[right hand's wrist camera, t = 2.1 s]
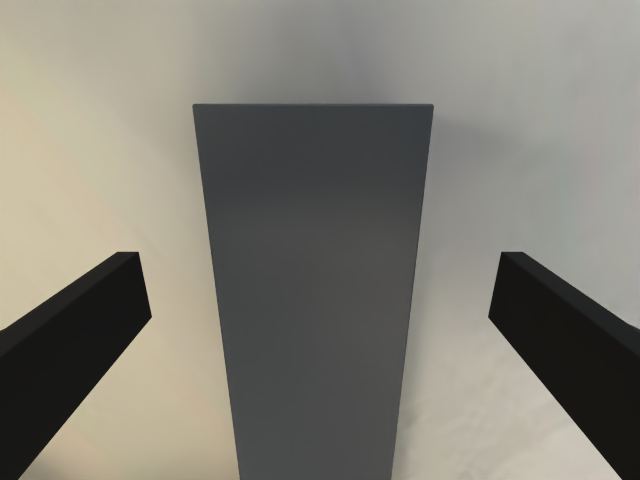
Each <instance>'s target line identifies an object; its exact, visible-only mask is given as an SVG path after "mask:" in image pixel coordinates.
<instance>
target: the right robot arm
mask: <svg viewBox="0 0 640 480" xmlns="http://www.w3.org/2000/svg"><path fill="white" fill-rule="evenodd" d="M151 318H152V315H151V310H150V305H149V301H148V296H147V291H146V286H145V281H144V276H143V271H142V266H141V262H140V257H139V252H116V253H115V254H113V255H112V256H111V257H109V258H108V259H106V260H105V261H103V262H102V263H100V264H99V265H97V266H96V267H94V268H93V269H92V270H90V271H89V272H87V273H86V274H84V275H83V276H81V277H80V278H78V279H77V280H75V281H74V282H73V283H71V284H70V285H68V286H67V287H65V288H64V289H62V290H61V291H59V292H58V293H57V294H55V295H54V296H52V297H51V298H49V299H48V300H46V301H45V302H43V303H42V304H40V305H39V306H38V307H36V308H35V309H33V310H32V311H30V312H29V313H27V314H26V315H24V316H23V317H21V318H20V319H19V320H17V321H16V322H14V323H13V324H11V325H10V326H8V327H7V328H5V329H3V330H1V331H0V480H18V479H19V478H20V477H21V475H22V474H23V473H24V472H25V470H26V469H27V468H28V467H29V466H30V464H31V463H32V462H33V461H34V460H35V458H36V457H37V456H38V455H39V453H40V452H41V451H42V450H43V449H44V447H45V446H46V445H47V444H48V443H49V441H50V440H51V439H52V438H53V436H54V435H55V434H56V433H57V432H58V430H59V429H60V428H61V427H62V426H63V424H64V423H65V422H66V421H67V419H68V418H69V417H70V416H71V415H72V413H73V412H74V411H75V410H76V409H77V407H78V406H79V405H80V404H81V402H82V401H83V400H84V399H85V398H86V396H87V395H88V394H89V393H90V392H91V390H92V389H93V388H94V387H95V385H96V384H97V383H98V382H99V381H100V379H101V378H102V377H103V376H104V375H105V373H106V372H107V371H108V370H109V369H110V367H111V366H112V365H113V364H114V362H115V361H116V360H117V359H118V358H119V356H120V355H121V354H122V353H123V352H124V350H125V349H126V348H127V347H128V345H129V344H130V343H131V342H132V341H133V339H134V338H135V337H136V336H137V335H138V333H139V332H140V331H141V330H142V328H143V327H144V326H145V325H146V324H147V322H148V321H149V320H150V319H151ZM488 318H489V319H490V320H491V321H492V322H493V324H494V325H495V326H496V327H497V328H498V330H499V331H500V332H501V333H502V335H503V336H504V337H505V338H506V339H507V341H508V342H509V343H510V344H511V345H512V347H513V348H514V349H515V350H516V352H517V353H518V354H519V355H520V356H521V358H522V359H523V360H524V361H525V362H526V364H527V365H528V366H529V367H530V369H531V370H532V371H533V372H534V373H535V375H536V376H537V377H538V378H539V379H540V381H541V382H542V383H543V384H544V385H545V387H546V388H547V389H548V390H549V392H550V393H551V394H552V395H553V396H554V398H555V399H556V400H557V401H558V402H559V404H560V405H561V406H562V407H563V409H564V410H565V411H566V412H567V413H568V415H569V416H570V417H571V418H572V419H573V421H574V422H575V423H576V424H577V426H578V427H579V428H580V429H581V430H582V432H583V433H584V434H585V435H586V436H587V438H588V439H589V440H590V441H591V443H592V444H593V445H594V446H595V447H596V449H597V450H598V451H599V452H600V453H601V455H602V456H603V457H604V458H605V460H606V461H607V462H608V463H609V464H610V466H611V467H612V468H613V469H614V470H615V472H616V473H617V474H618V475H619V477H620V478H621V479H622V480H640V329H638V328H636V327H634V326H632V325H629V324H627V323H626V322H624V321H623V320H621V319H620V318H619V317H617V316H616V315H614V314H613V313H611V312H610V311H608V310H607V309H605V308H604V307H602V306H601V305H600V304H598V303H597V302H595V301H594V300H592V299H591V298H589V297H588V296H586V295H585V294H583V293H582V292H581V291H579V290H578V289H576V288H575V287H573V286H572V285H570V284H569V283H567V282H566V281H565V280H563V279H562V278H560V277H559V276H557V275H556V274H554V273H553V272H551V271H550V270H548V269H547V268H546V267H544V266H543V265H541V264H540V263H538V262H537V261H535V260H534V259H532V258H531V257H529V256H528V255H527V254H525V253H524V252H501V257H500V262H499V266H498V271H497V276H496V281H495V286H494V291H493V296H492V301H491V305H490V310H489V315H488Z"/></svg>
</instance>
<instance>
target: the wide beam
mask: <svg viewBox="0 0 640 480" xmlns="http://www.w3.org/2000/svg"><path fill="white" fill-rule="evenodd" d="M433 109H434V106H433V104H193V114H194V122H195V130H196V138H197V146H198V154H199V161H200V169H201V177H202V185H203V193H204V201H205V208H206V216H207V224H208V232H209V240H210V247H211V255H212V263H213V271H214V279H215V287H216V294H217V302H218V310H219V318H220V326H221V334H222V341H223V349H224V357H225V365H226V373H227V381H228V388H229V396H230V404H231V412H232V420H233V427H234V435H235V443H236V451H237V459H238V467H239V474H240V480H391V475H392V466H393V457H394V449H395V440H396V431H397V422H398V414H399V405H400V396H401V388H402V379H403V370H404V361H405V353H406V344H407V335H408V327H409V318H410V309H411V300H412V292H413V283H414V274H415V266H416V257H417V248H418V240H419V231H420V222H421V213H422V205H423V196H424V187H425V179H426V170H427V161H428V152H429V144H430V135H431V126H432V118H433Z"/></svg>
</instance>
